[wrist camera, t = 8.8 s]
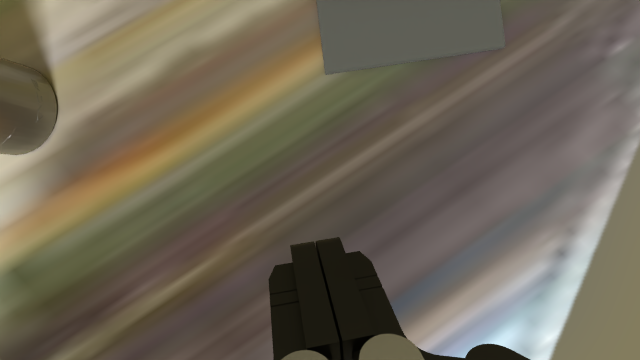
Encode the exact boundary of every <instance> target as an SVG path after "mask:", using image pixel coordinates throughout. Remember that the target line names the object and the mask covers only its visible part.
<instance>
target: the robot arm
mask: <svg viewBox="0 0 640 360" xmlns="http://www.w3.org/2000/svg"><path fill="white" fill-rule="evenodd" d="M56 115H57V103H56V99H55V94H54V92H53V90H52V88H51V86H50V84H49V83H48V81H47V80H46V79H45V78H44V77H43V76H42V75H41V74H40V73H39V72H37V71H36V70H34V69H32V68H30V67H27V66H24V65H21V64H18V63H15V62H12V61H9V60H6V59H2V58H0V154H9V155H19V154H26V153H28V152H31V151H33V150H35V149H36V148H38V147H40V146H41V145H42V144H43V143H44V142H45V141H46V140H47V138H48V137H49V135H50V134H51V132H52V130H53V127H54V125H55V121H56ZM290 247H291V254H292V261H293V263H287V264H282V265H276V266H275V267H274V269H273V271H272V273H271V275H270V278H269V291H270V306H271V323H272V338H273V354H274V360H530V359H528V358H526V357H524V356H522V355H520V354H518V353H516V352H514V351H513V350H511V349H508V348H506V347H503V346H500V345H495V344H482V345H478V346H476V347H474V348H472V349H471V350H470V351H469V352H468V353H467V355H466V357H465V358H458V357H449V356H440V355H434V354H431V353H428V352H425V351H423V350H421V349H419V348H418V347H416V346H415V345H414V344H413V343H412V342H411V341H409V340H408V339H407V338H406V336H405V335H404V333H403V331H402V329H401V327H400V325H399V323H398V320H397V318H396V316H395V314H394V311H393V309H392V307H391V305H390V302H389V300H388V298H387V296H386V293H385V291H384V289H383V288H382V284H381V282H380V280H379V278H378V277H377V273H376V271H375V269H374V266H373V264H372V262H371V261H370V260H369V259H368V258H367V257H366V256H364V255H363V254H362V253H361V252H360V251H357V252H351V253H345V251H344V248H343V245H342V242H341V240H340V238H339V237H337V238H331V239H325V240H319V241H316V247H315V243H314V242H308V243H301V244H295V245H290Z"/></svg>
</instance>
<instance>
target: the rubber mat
mask: <svg viewBox="0 0 640 360" xmlns="http://www.w3.org/2000/svg"><path fill="white" fill-rule="evenodd" d="M317 8H318V17H319V25H320V34H321V42H322V51H323V60H324V68H325V74H326V75H327V74H334V73H341V72H347V71H354V70H361V69H368V68H375V67H381V66H388V65H395V64H402V63H408V62H415V61H422V60H429V59H436V58H442V57H449V56H456V55H463V54H469V53H476V52H483V51H490V50H497V49H503V48H504V47H505V39H504V30H503V22H502V13H501V5H500V0H317Z"/></svg>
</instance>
